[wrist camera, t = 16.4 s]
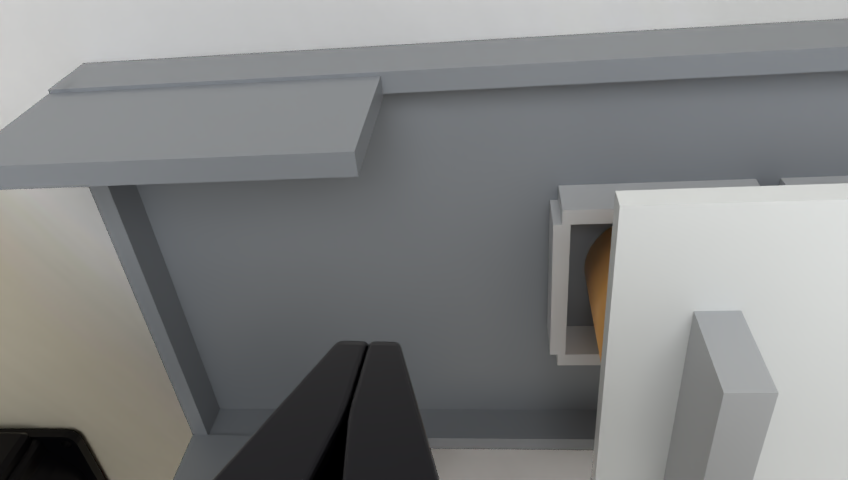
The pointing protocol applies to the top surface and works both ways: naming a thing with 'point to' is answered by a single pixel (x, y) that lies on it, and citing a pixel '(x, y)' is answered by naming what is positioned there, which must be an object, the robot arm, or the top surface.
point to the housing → (415, 203)
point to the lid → (726, 335)
